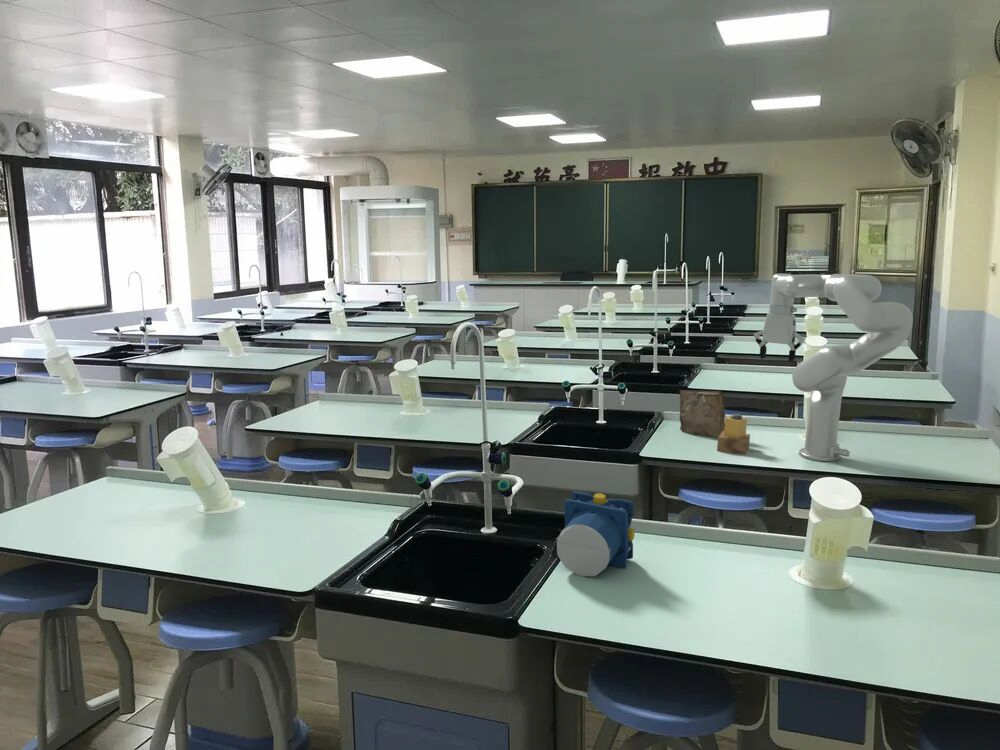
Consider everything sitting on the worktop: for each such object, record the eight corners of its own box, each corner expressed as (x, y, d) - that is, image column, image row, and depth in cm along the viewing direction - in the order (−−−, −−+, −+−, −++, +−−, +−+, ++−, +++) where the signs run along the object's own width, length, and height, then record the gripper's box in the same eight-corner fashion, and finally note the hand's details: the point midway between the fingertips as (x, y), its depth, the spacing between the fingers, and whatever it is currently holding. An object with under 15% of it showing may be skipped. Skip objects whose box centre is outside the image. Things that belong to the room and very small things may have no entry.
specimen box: (748, 448, 268) (750, 434, 267) (745, 455, 260) (746, 440, 259) (721, 445, 271) (722, 430, 270) (717, 451, 263) (718, 437, 262)
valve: (572, 545, 183) (571, 485, 178) (636, 558, 176) (636, 497, 171) (548, 574, 172) (546, 511, 167) (615, 590, 165) (615, 525, 160)
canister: (745, 435, 265) (747, 415, 263) (738, 438, 261) (740, 418, 260) (731, 432, 268) (732, 412, 267) (723, 435, 264) (725, 415, 263)
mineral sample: (726, 436, 282) (729, 392, 279) (723, 439, 278) (726, 394, 275) (678, 429, 291) (680, 386, 288) (674, 431, 287) (676, 388, 284)
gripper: (810, 311, 268) (805, 361, 271) (760, 307, 279) (756, 355, 282) (803, 313, 262) (798, 364, 266) (752, 309, 273) (748, 358, 276)
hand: (776, 359), depth 274 cm, fingers open, 9 cm apart
